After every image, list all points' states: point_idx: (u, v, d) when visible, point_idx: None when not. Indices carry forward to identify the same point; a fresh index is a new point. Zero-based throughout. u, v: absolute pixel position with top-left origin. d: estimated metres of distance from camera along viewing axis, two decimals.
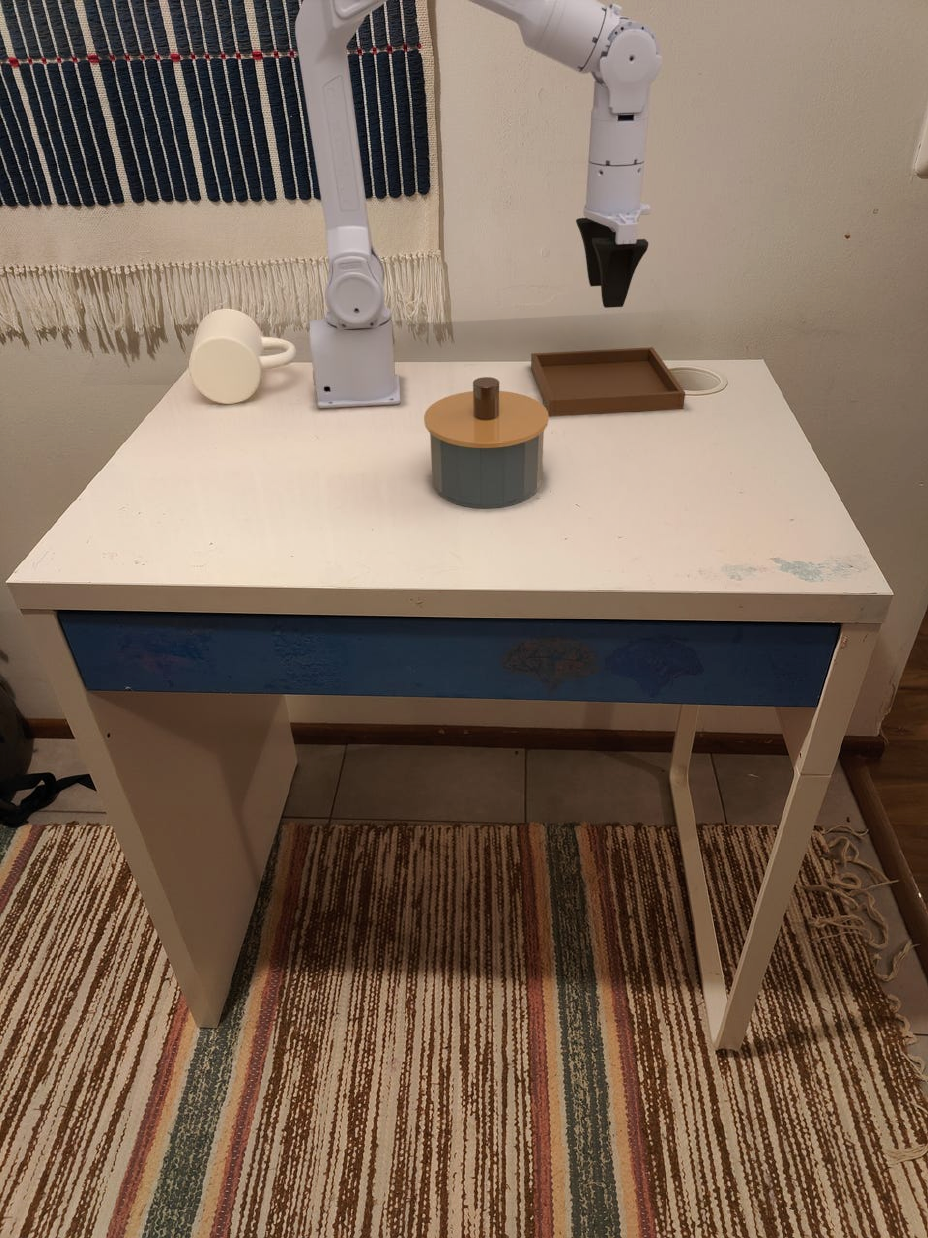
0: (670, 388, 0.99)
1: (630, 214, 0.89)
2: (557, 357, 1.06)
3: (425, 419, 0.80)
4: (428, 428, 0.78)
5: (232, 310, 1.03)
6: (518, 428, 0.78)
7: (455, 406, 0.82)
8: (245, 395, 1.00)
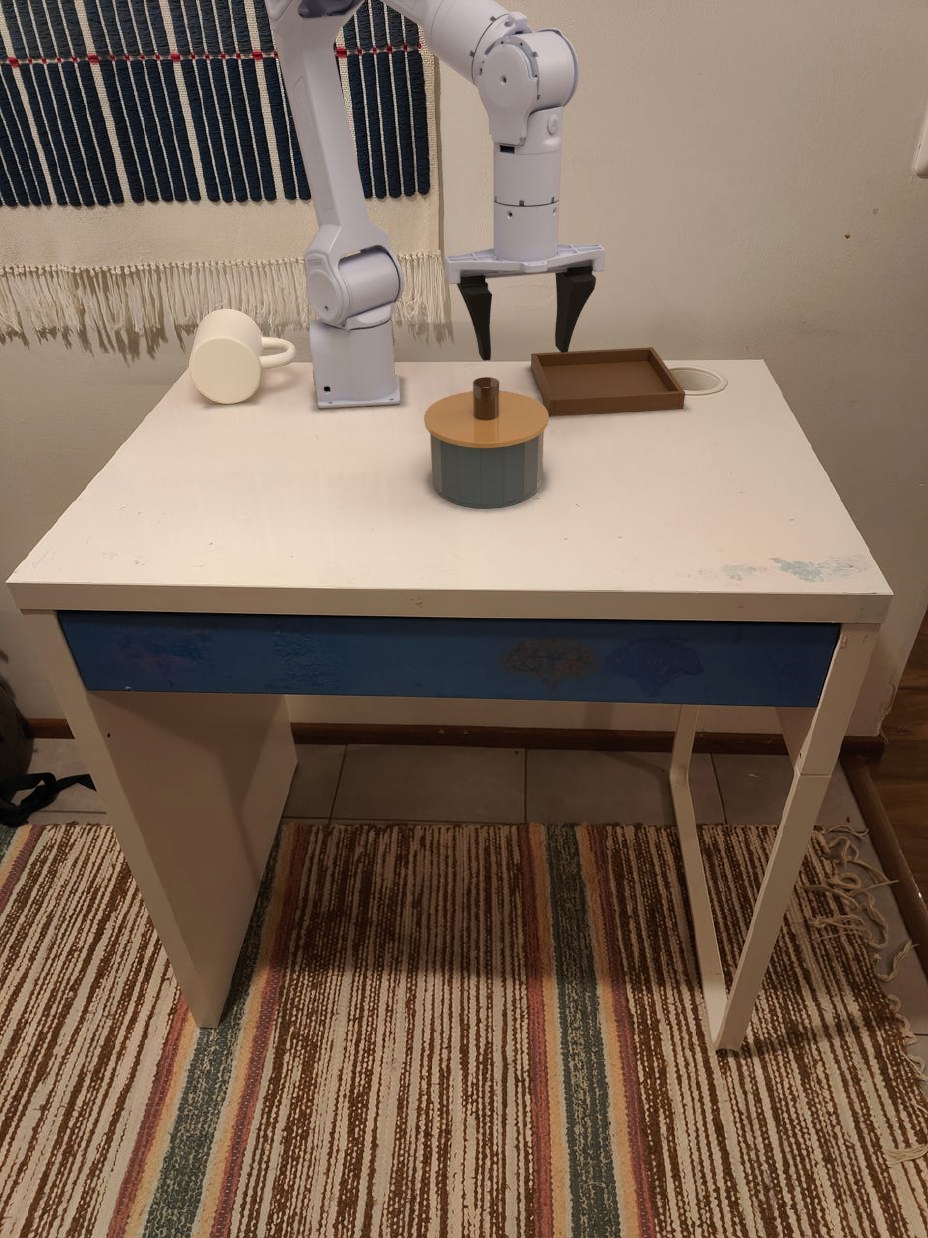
0: (670, 388, 0.99)
1: (499, 260, 0.76)
2: (557, 357, 1.06)
3: (425, 419, 0.80)
4: (428, 428, 0.78)
5: (232, 310, 1.03)
6: (518, 428, 0.78)
7: (455, 406, 0.82)
8: (245, 395, 1.00)
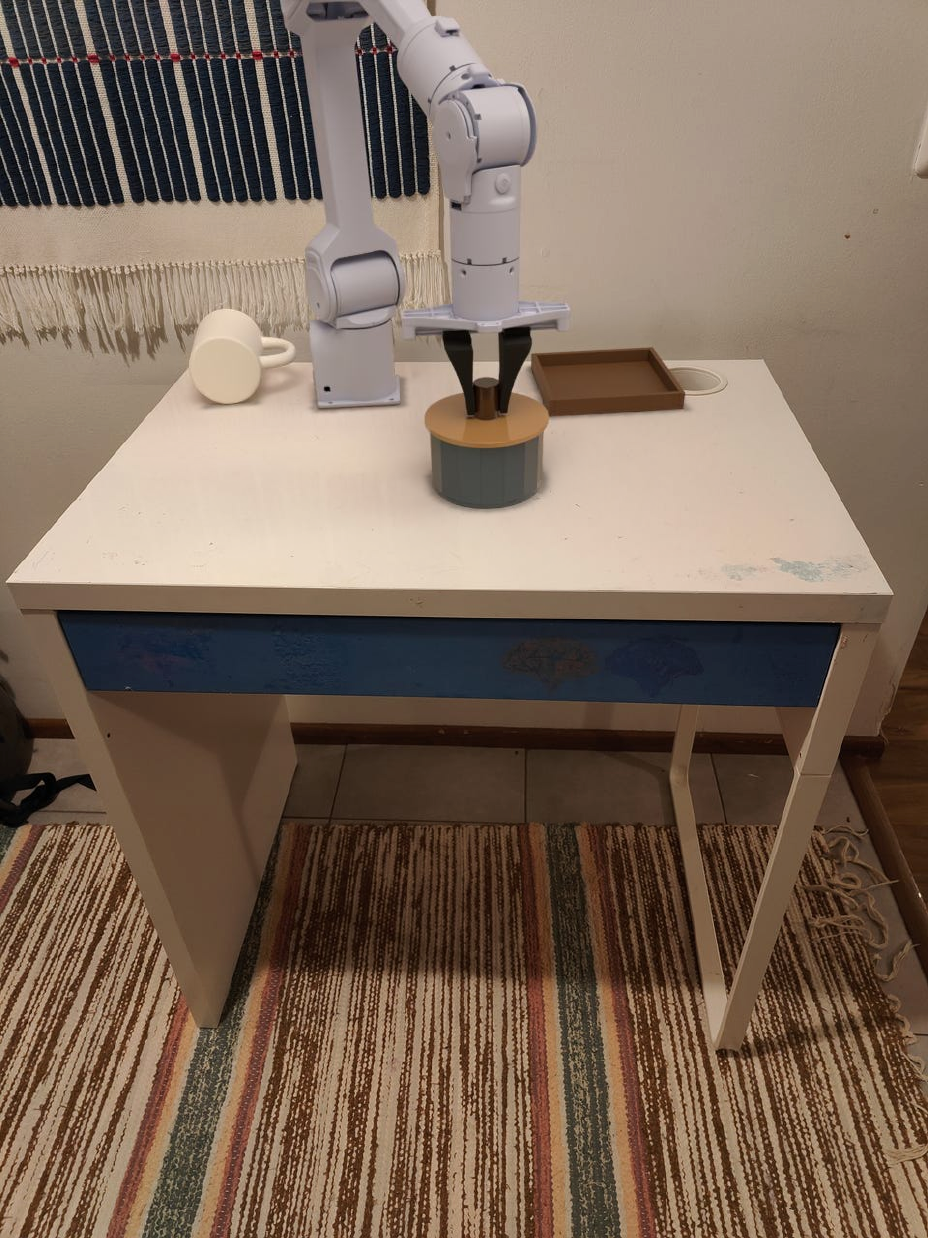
0: (670, 388, 0.99)
1: (454, 318, 0.73)
2: (557, 357, 1.06)
3: (425, 419, 0.80)
4: (428, 428, 0.78)
5: (232, 310, 1.03)
6: (518, 428, 0.78)
7: (455, 406, 0.82)
8: (245, 395, 1.00)
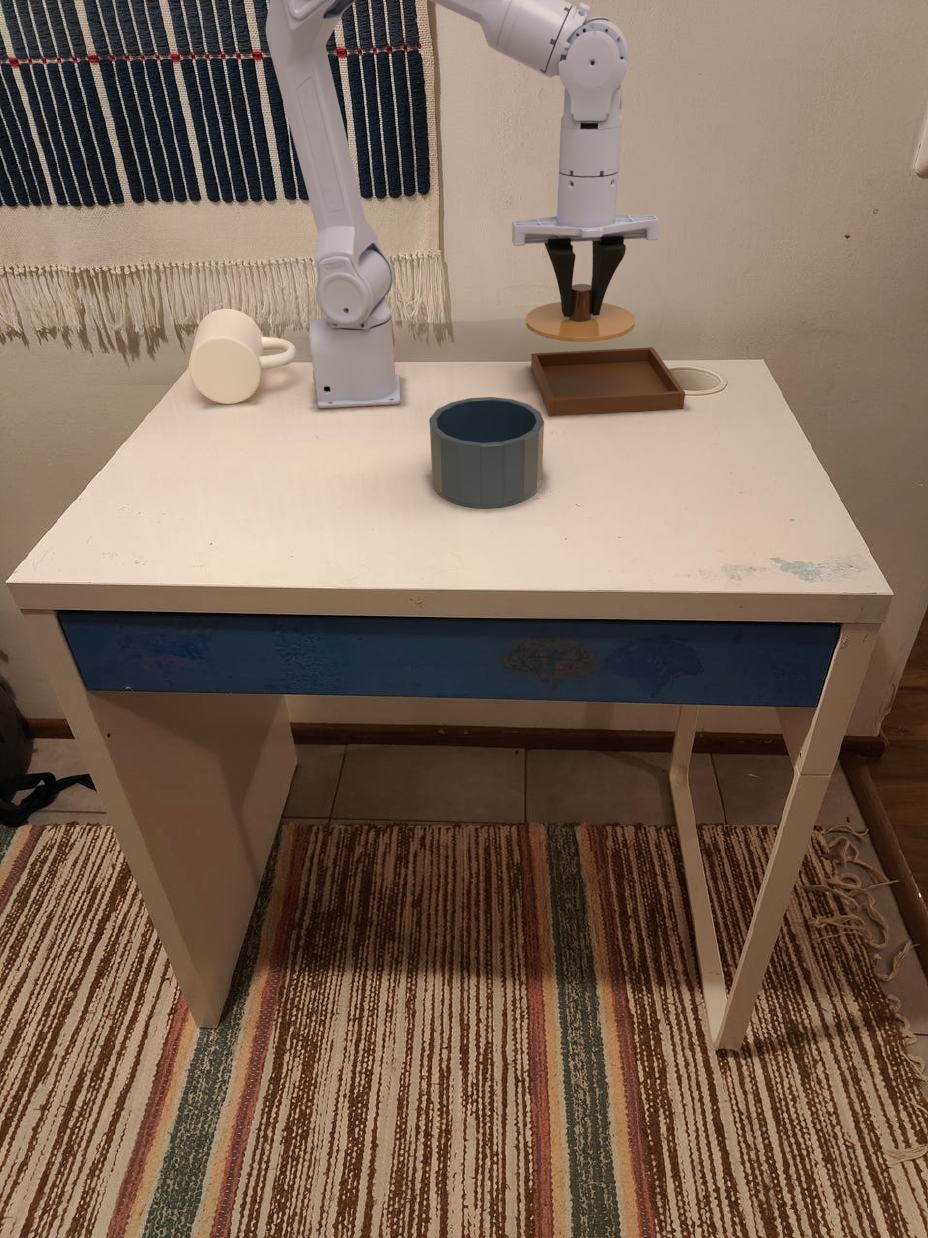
0: (670, 388, 0.99)
1: (560, 226, 0.85)
2: (557, 357, 1.06)
3: (527, 321, 0.91)
4: (531, 327, 0.90)
5: (232, 310, 1.03)
6: (610, 327, 0.89)
7: (551, 312, 0.93)
8: (245, 395, 1.00)
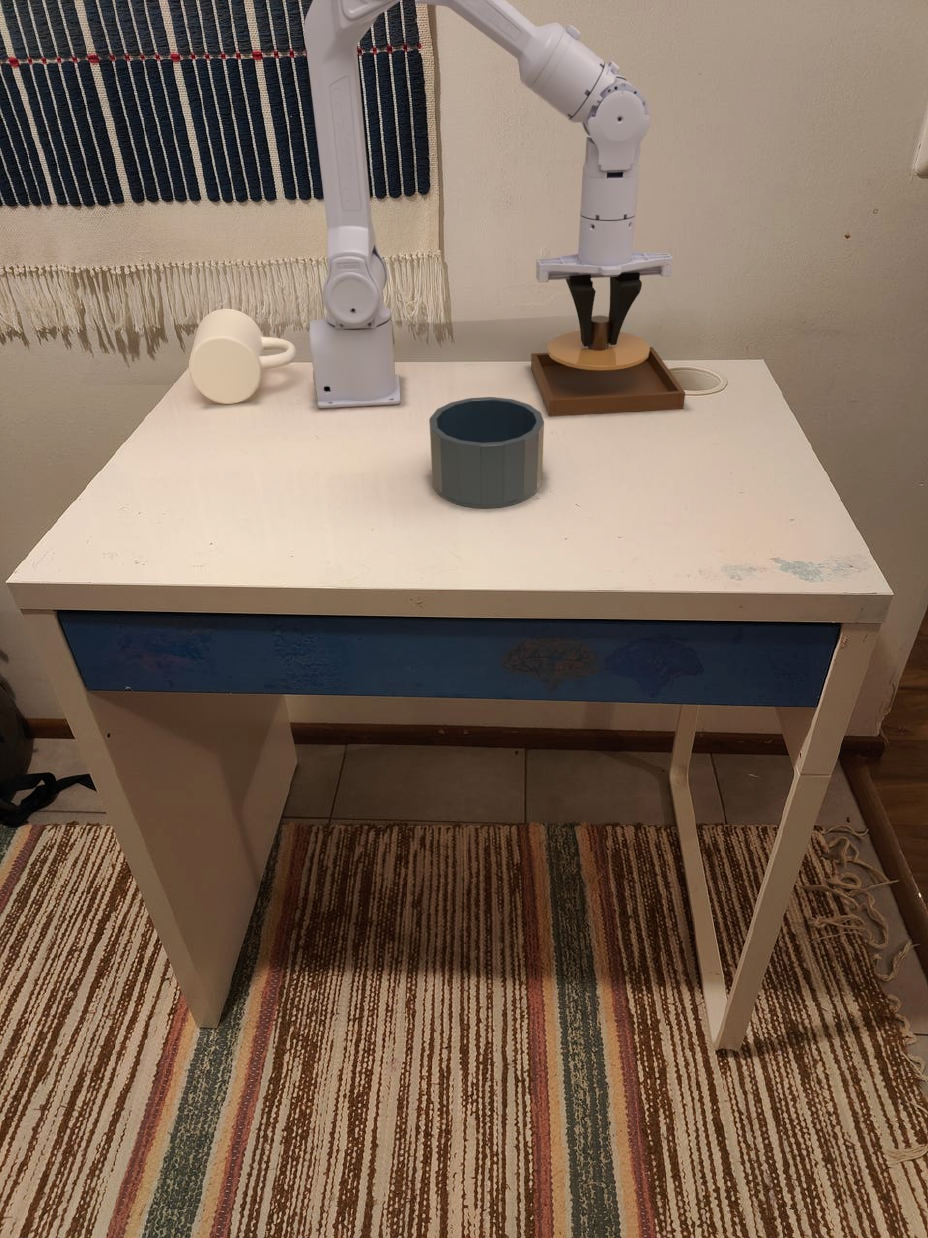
0: (670, 388, 0.99)
1: (581, 264, 0.92)
2: None
3: (549, 350, 0.98)
4: (553, 356, 0.97)
5: (232, 310, 1.03)
6: (627, 356, 0.96)
7: (571, 341, 1.00)
8: (245, 395, 1.00)
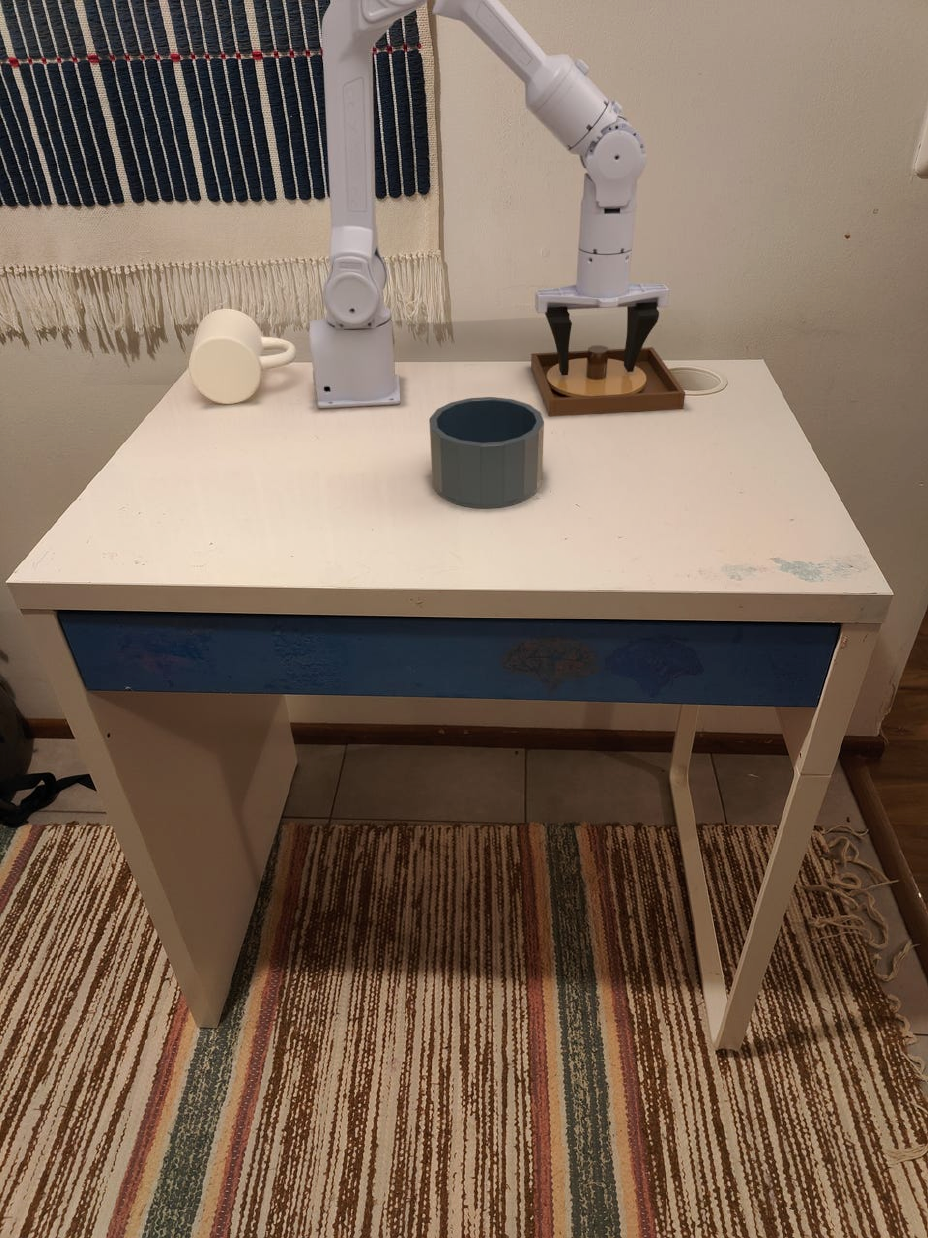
0: (670, 388, 0.99)
1: (579, 296, 0.94)
2: (557, 357, 1.06)
3: (548, 379, 1.00)
4: (552, 385, 0.99)
5: (232, 310, 1.03)
6: (624, 385, 0.98)
7: (569, 369, 1.02)
8: (245, 395, 1.00)
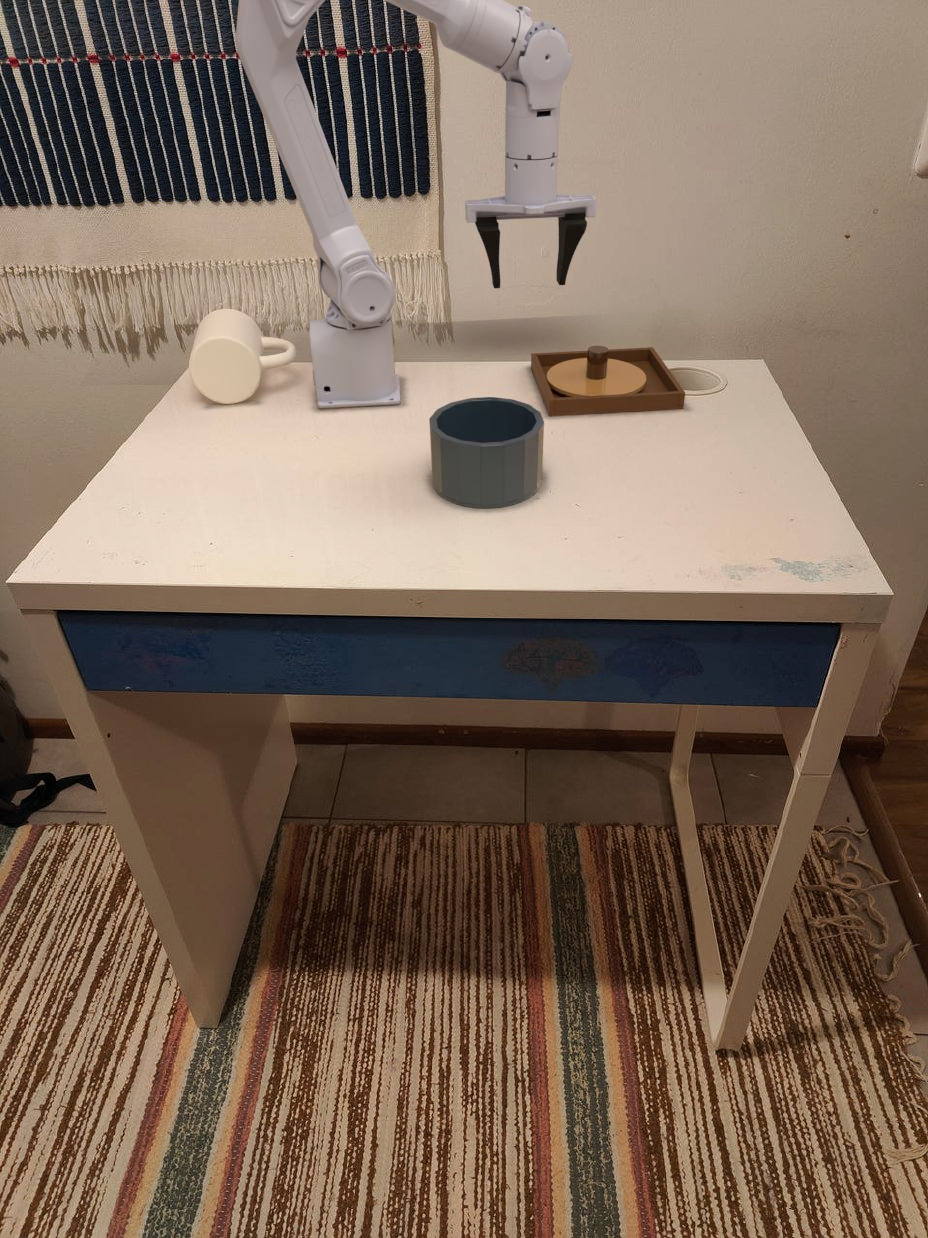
0: (670, 388, 0.99)
1: (507, 204, 0.95)
2: (557, 357, 1.06)
3: (548, 379, 1.00)
4: (552, 385, 0.99)
5: (232, 310, 1.03)
6: (624, 385, 0.98)
7: (569, 369, 1.02)
8: (245, 395, 1.00)
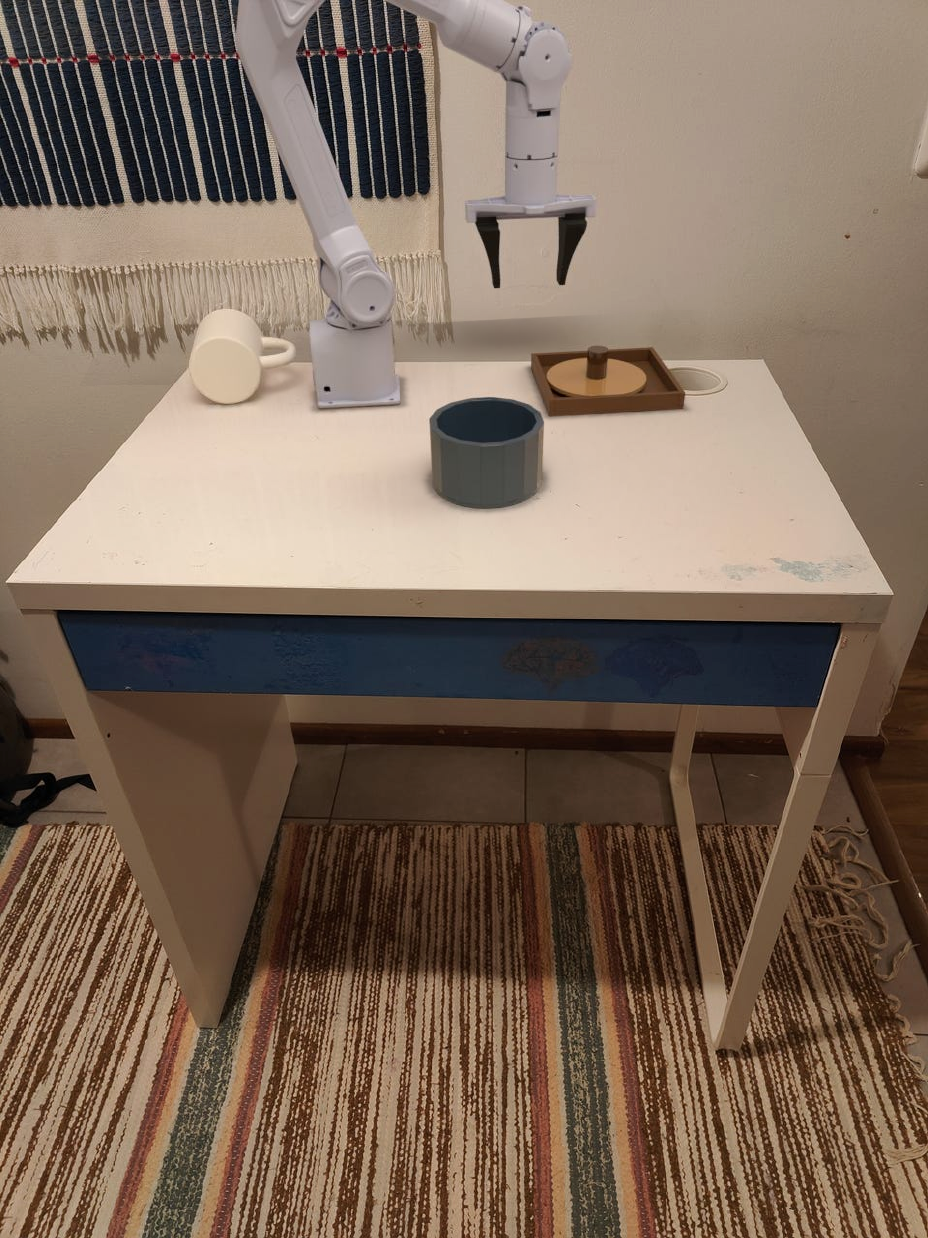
0: (670, 388, 0.99)
1: (507, 204, 0.95)
2: (557, 357, 1.06)
3: (548, 379, 1.00)
4: (552, 385, 0.99)
5: (232, 310, 1.03)
6: (624, 385, 0.98)
7: (569, 369, 1.02)
8: (245, 395, 1.00)
